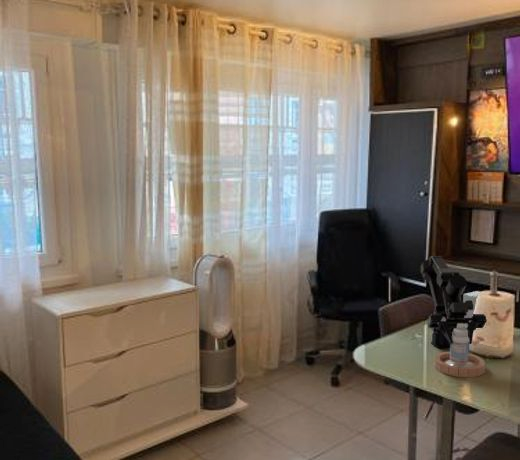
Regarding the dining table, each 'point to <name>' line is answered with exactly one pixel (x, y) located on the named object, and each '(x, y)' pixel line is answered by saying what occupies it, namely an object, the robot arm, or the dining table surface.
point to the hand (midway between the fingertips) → (461, 343)
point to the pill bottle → (460, 346)
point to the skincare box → (473, 297)
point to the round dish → (459, 365)
